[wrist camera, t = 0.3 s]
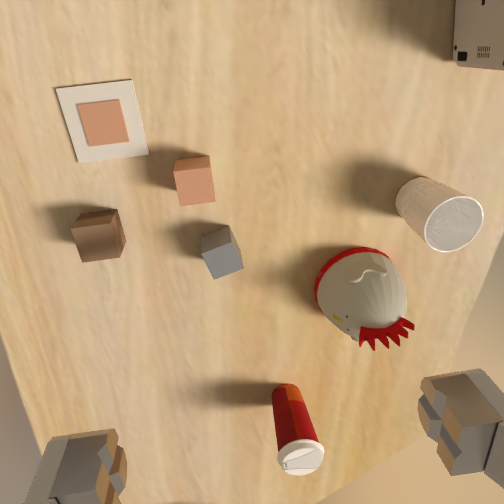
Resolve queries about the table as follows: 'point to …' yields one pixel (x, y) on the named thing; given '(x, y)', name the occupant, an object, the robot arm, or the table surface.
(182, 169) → the salmon orange block
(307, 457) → the paper cup
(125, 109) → the tile
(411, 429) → the table surface
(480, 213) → the white cup
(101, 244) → the walnut block
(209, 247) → the grey block
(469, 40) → the stereo radio cassette player
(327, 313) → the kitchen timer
